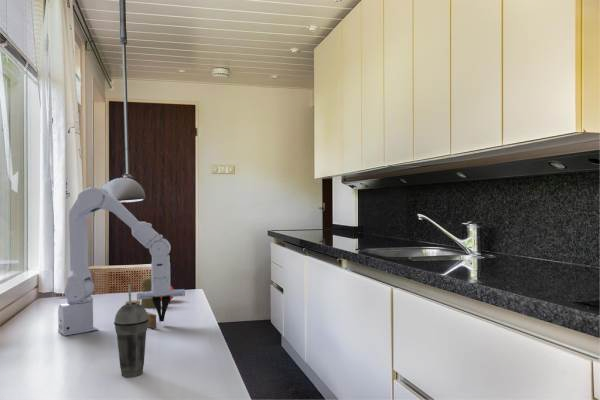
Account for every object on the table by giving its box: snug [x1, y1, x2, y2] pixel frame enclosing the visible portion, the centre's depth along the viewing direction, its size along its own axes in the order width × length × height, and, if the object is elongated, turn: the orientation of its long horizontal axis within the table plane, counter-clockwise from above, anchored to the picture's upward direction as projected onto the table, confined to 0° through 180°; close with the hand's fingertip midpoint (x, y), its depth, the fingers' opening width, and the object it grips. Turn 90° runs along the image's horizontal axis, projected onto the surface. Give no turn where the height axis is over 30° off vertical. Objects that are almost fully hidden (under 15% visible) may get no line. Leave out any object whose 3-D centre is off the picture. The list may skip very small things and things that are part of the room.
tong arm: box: [146, 311, 157, 330], centre depth 149 cm, size 14×1×4 cm, turn 43°
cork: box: [140, 276, 156, 309], centre depth 179 cm, size 6×6×11 cm
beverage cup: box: [113, 283, 149, 378], centre depth 105 cm, size 7×7×20 cm
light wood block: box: [125, 299, 141, 305], centre depth 156 cm, size 2×4×6 cm, turn 108°
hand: (161, 320), depth 148 cm, fingers closed
